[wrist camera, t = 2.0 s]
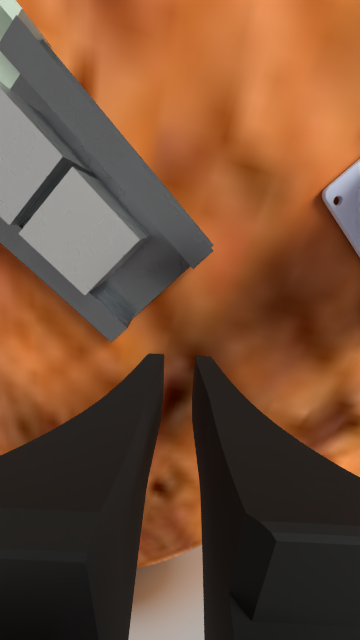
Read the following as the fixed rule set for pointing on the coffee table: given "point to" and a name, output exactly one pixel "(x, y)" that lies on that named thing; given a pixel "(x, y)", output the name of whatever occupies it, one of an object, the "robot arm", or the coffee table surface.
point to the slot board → (118, 176)
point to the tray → (3, 10)
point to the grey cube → (84, 231)
